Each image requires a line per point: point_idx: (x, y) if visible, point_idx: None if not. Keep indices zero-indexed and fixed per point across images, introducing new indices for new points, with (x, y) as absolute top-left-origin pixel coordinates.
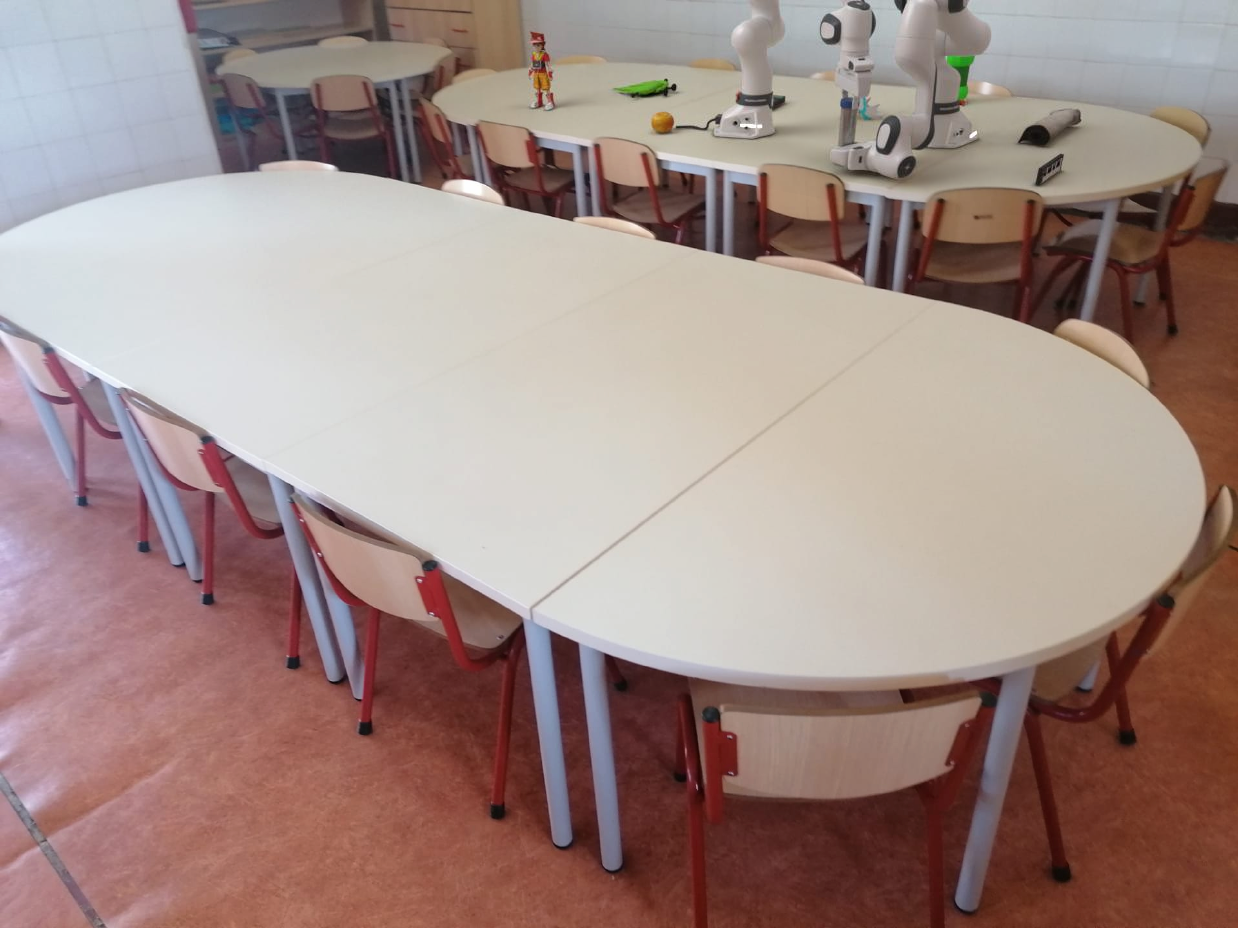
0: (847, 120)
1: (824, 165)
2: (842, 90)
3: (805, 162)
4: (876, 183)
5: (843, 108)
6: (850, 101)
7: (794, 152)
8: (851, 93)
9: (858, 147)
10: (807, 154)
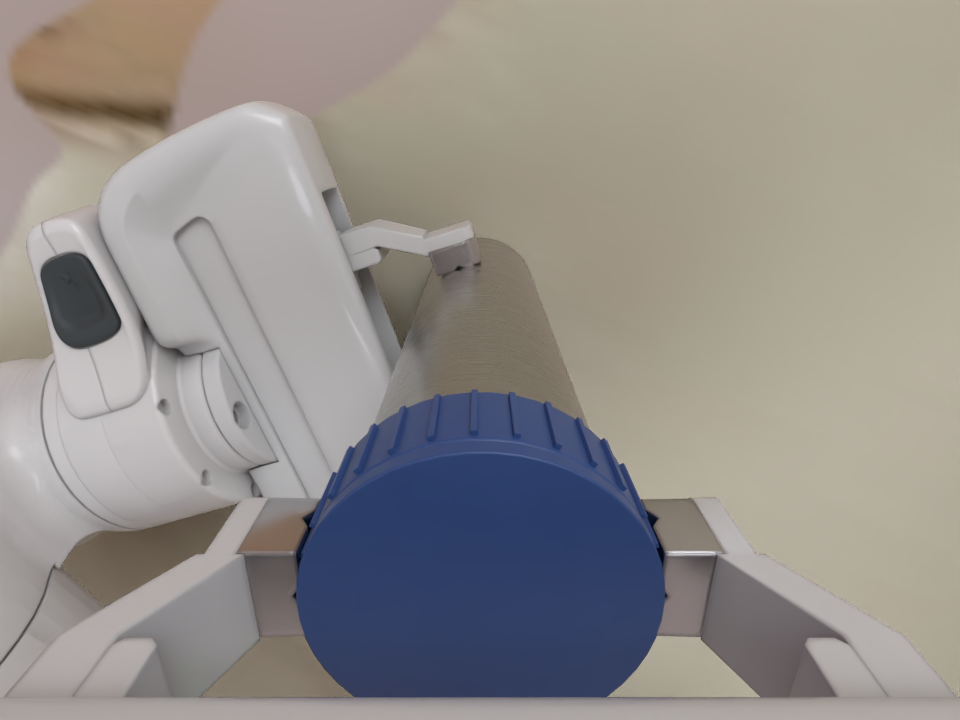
0: (389, 387)
1: (486, 143)
2: (848, 677)
3: (612, 24)
4: (33, 315)
5: None
6: (313, 566)
7: (900, 37)
8: (25, 715)
9: (98, 313)
10: (793, 122)
